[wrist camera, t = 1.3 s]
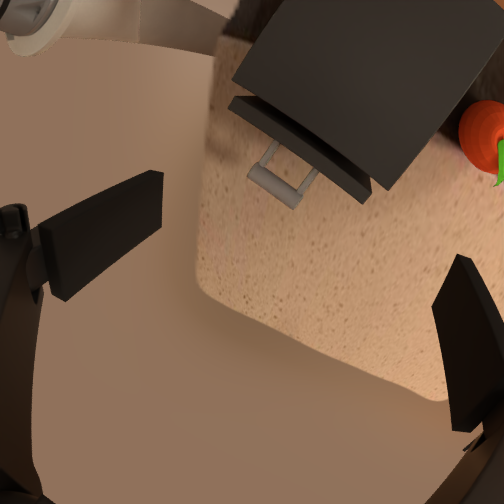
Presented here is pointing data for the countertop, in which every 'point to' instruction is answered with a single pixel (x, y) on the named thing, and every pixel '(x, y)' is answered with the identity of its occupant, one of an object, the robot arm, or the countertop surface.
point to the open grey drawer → (303, 146)
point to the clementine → (484, 136)
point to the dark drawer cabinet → (372, 71)
